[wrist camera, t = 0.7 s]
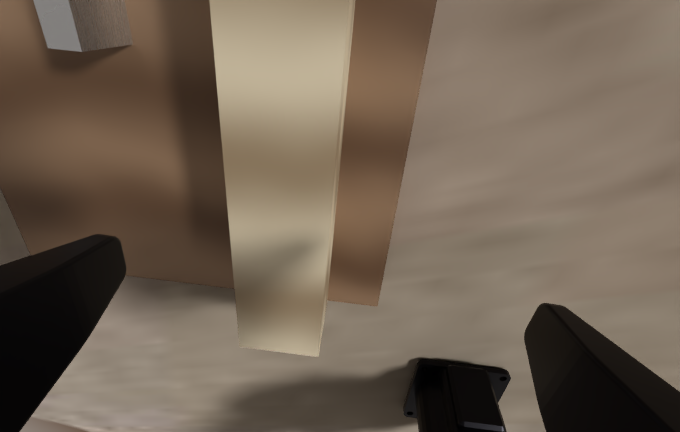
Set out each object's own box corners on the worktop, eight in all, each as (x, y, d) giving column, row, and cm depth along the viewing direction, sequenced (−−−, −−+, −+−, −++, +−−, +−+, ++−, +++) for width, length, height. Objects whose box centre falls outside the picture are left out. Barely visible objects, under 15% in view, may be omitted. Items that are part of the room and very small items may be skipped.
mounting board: (377, 289, 22) (377, 306, 21) (53, 249, 23) (34, 264, 22) (466, -191, 12) (478, -216, 10) (-146, -244, 12) (-207, -274, 11)
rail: (327, 300, 21) (318, 356, 18) (261, 292, 21) (239, 346, 18) (371, -176, 11) (371, -262, 7) (244, -188, 11) (185, -277, 8)
